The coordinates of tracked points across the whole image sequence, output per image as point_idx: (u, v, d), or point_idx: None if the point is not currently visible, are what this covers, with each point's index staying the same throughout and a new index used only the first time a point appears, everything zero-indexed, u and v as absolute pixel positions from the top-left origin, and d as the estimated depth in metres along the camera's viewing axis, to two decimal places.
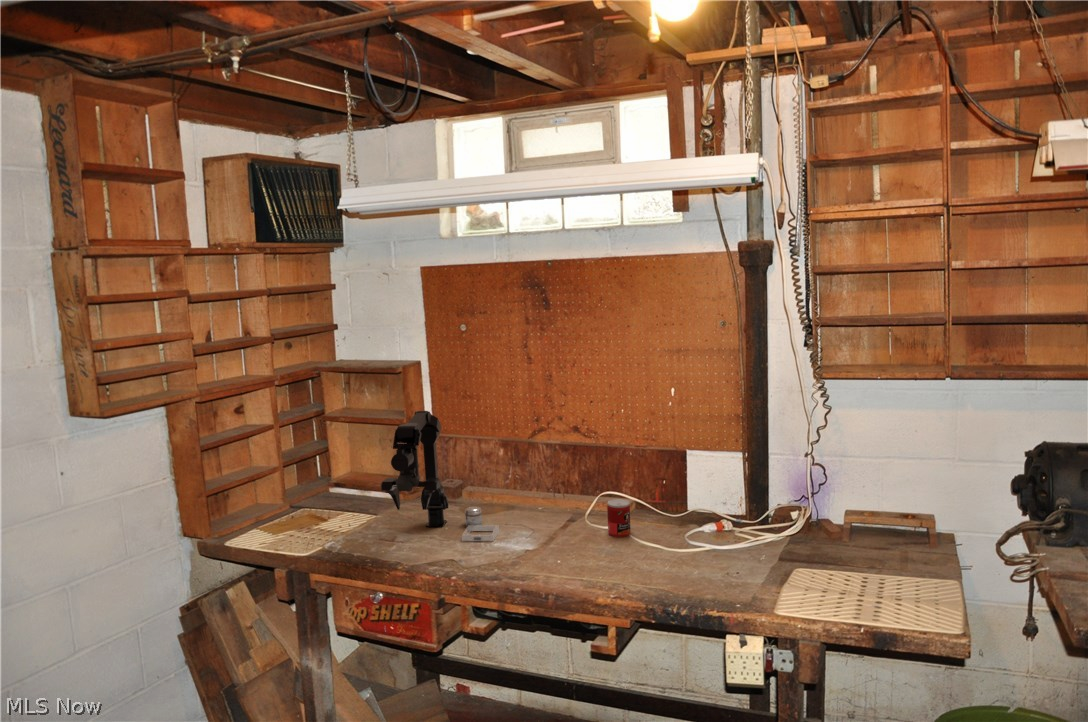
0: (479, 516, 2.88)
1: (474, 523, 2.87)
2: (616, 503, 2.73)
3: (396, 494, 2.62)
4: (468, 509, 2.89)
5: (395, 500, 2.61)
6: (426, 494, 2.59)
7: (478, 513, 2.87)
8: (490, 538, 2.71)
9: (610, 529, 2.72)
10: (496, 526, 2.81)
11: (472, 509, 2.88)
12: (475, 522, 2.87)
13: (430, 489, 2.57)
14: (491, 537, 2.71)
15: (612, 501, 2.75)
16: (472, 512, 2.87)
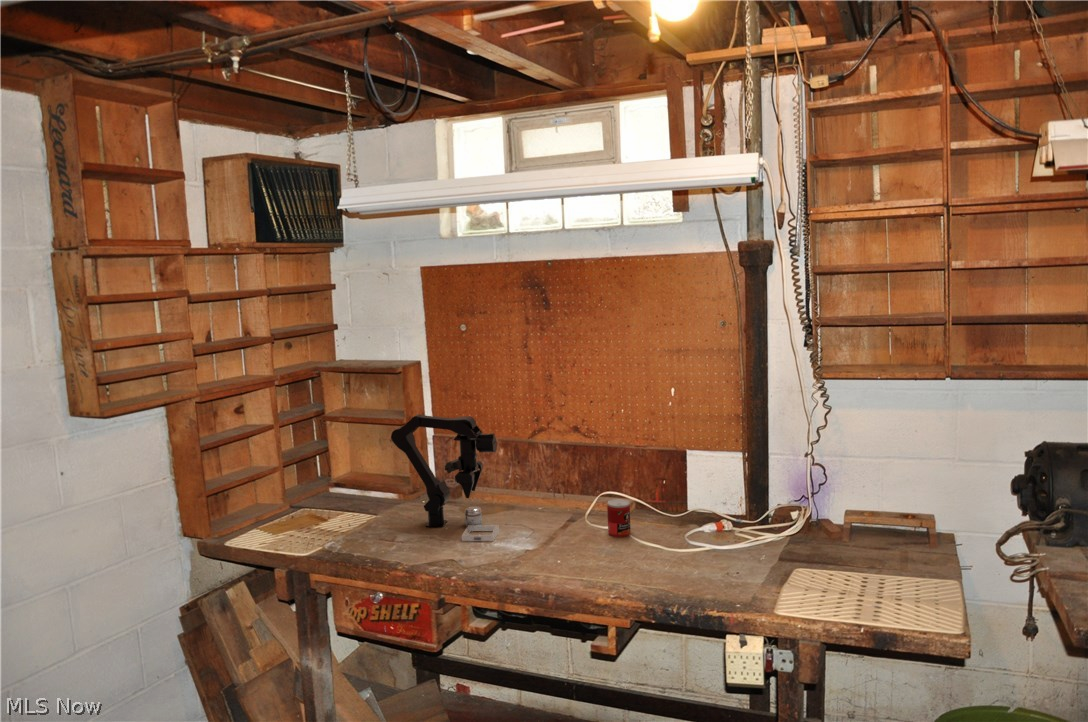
0: (479, 516, 2.88)
1: (474, 523, 2.87)
2: (616, 503, 2.73)
3: None
4: (468, 509, 2.89)
5: None
6: None
7: (478, 513, 2.87)
8: (490, 538, 2.71)
9: (610, 529, 2.72)
10: (496, 526, 2.81)
11: (471, 509, 2.88)
12: (474, 522, 2.87)
13: None
14: (491, 537, 2.71)
15: (612, 501, 2.75)
16: (472, 512, 2.87)
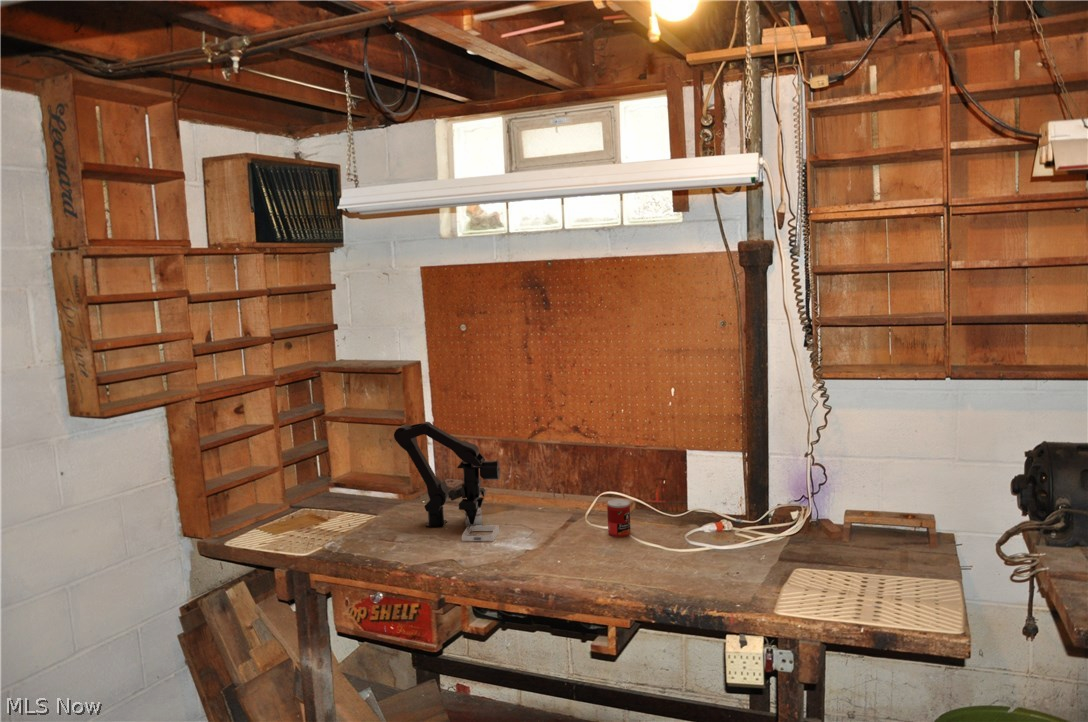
0: (479, 516, 2.88)
1: (474, 522, 2.87)
2: (616, 503, 2.73)
3: None
4: None
5: None
6: None
7: (478, 513, 2.87)
8: (490, 538, 2.71)
9: (610, 529, 2.72)
10: (496, 526, 2.81)
11: None
12: (474, 522, 2.87)
13: None
14: (491, 537, 2.71)
15: (612, 501, 2.75)
16: None
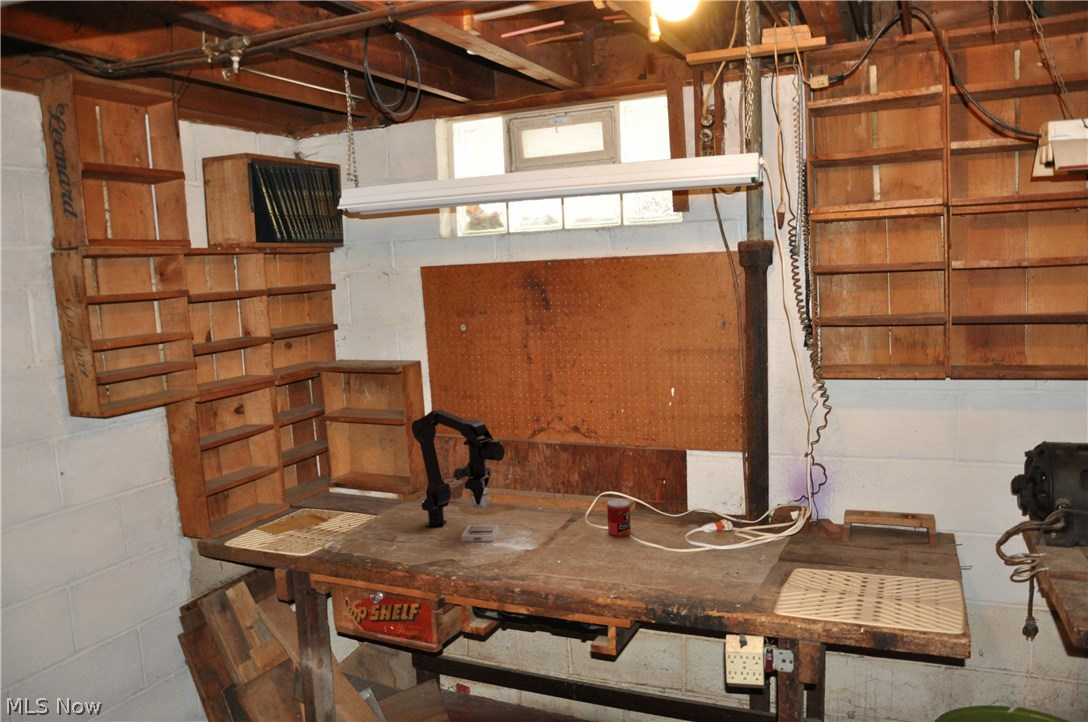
0: (486, 496, 2.75)
1: (481, 503, 2.74)
2: (616, 503, 2.73)
3: None
4: None
5: None
6: None
7: (485, 493, 2.75)
8: (490, 538, 2.71)
9: (610, 529, 2.72)
10: (496, 526, 2.81)
11: None
12: (481, 503, 2.74)
13: None
14: (491, 537, 2.71)
15: (612, 501, 2.75)
16: None
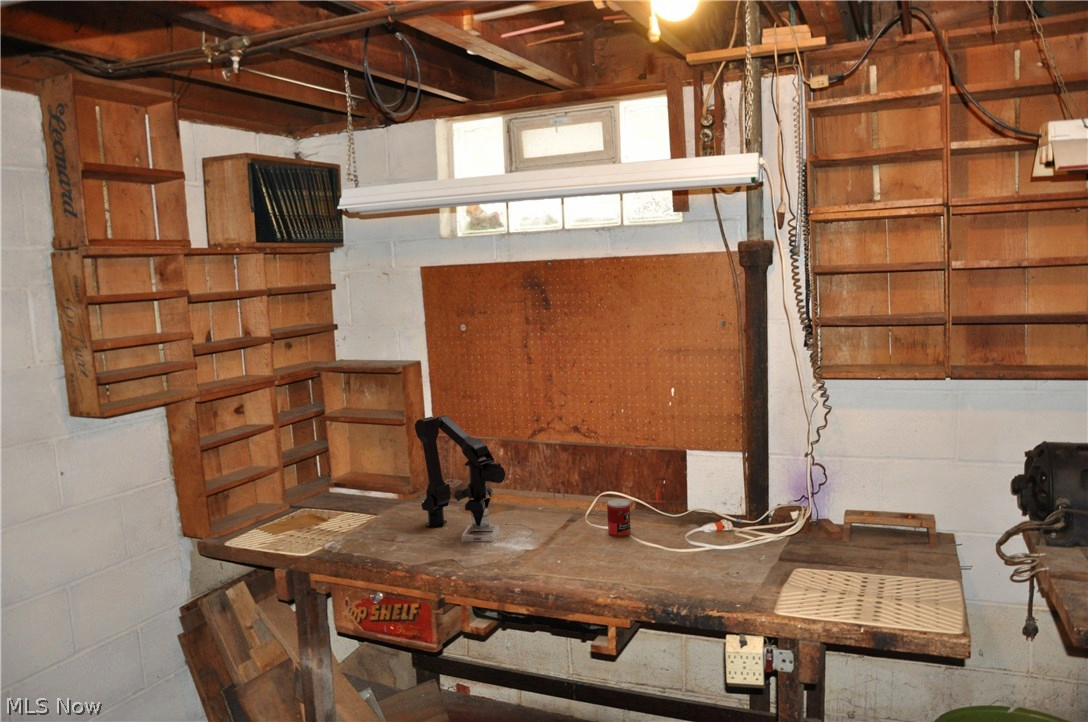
0: (486, 517, 2.75)
1: (481, 524, 2.75)
2: (616, 503, 2.73)
3: None
4: None
5: None
6: None
7: (485, 514, 2.75)
8: (490, 538, 2.71)
9: (610, 529, 2.72)
10: (496, 526, 2.81)
11: None
12: (481, 524, 2.75)
13: None
14: (491, 537, 2.71)
15: (612, 501, 2.75)
16: None
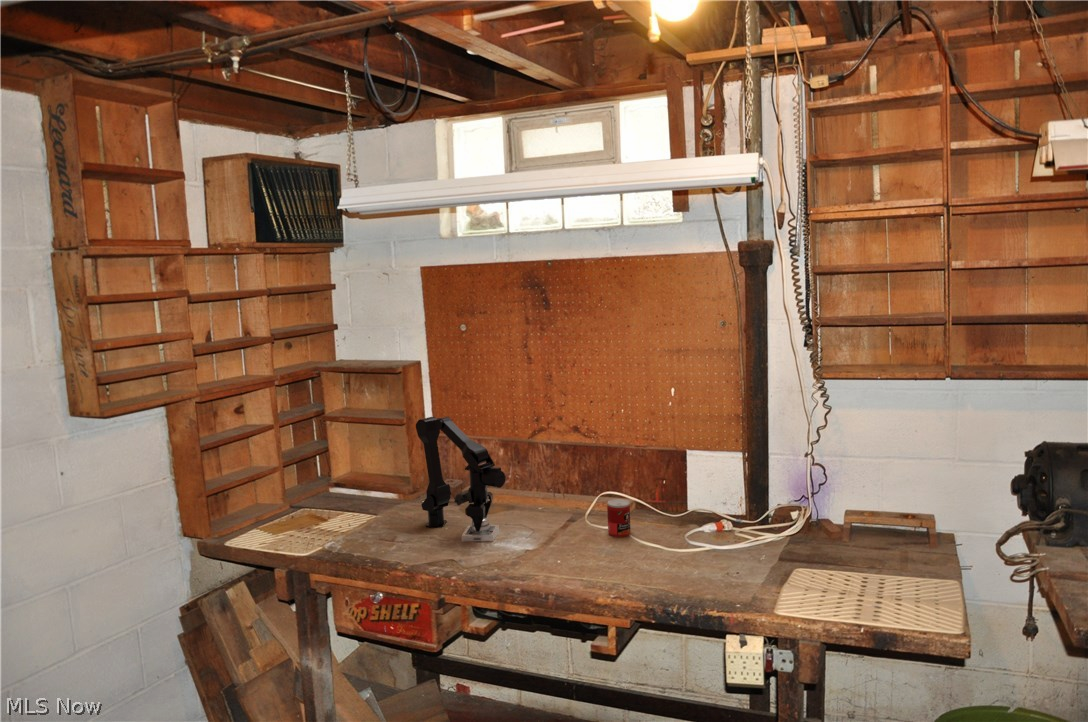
0: (487, 527, 2.76)
1: (481, 533, 2.75)
2: (616, 503, 2.73)
3: None
4: None
5: None
6: None
7: (486, 523, 2.75)
8: (490, 538, 2.71)
9: (610, 529, 2.72)
10: (496, 526, 2.81)
11: None
12: (482, 533, 2.75)
13: None
14: (491, 537, 2.71)
15: (612, 501, 2.75)
16: None
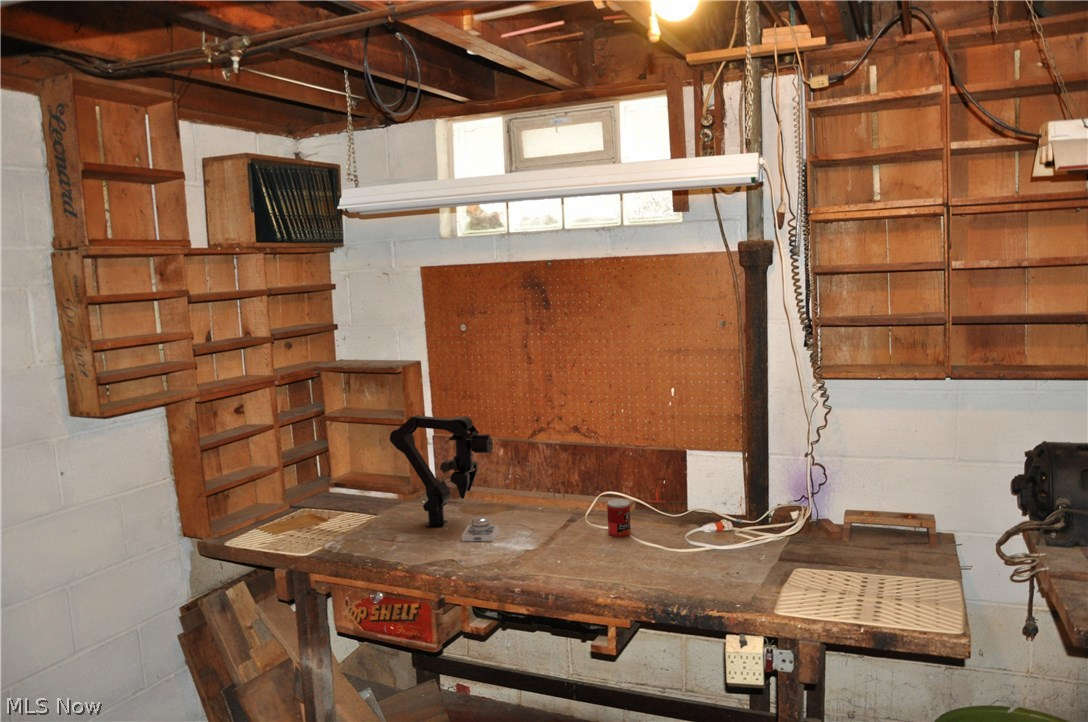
0: (487, 527, 2.76)
1: (481, 533, 2.75)
2: (616, 503, 2.73)
3: None
4: (475, 519, 2.77)
5: None
6: None
7: (486, 523, 2.75)
8: (490, 538, 2.71)
9: (610, 529, 2.72)
10: (496, 526, 2.81)
11: (479, 519, 2.76)
12: (482, 533, 2.75)
13: None
14: (491, 537, 2.71)
15: (612, 501, 2.75)
16: (479, 522, 2.75)
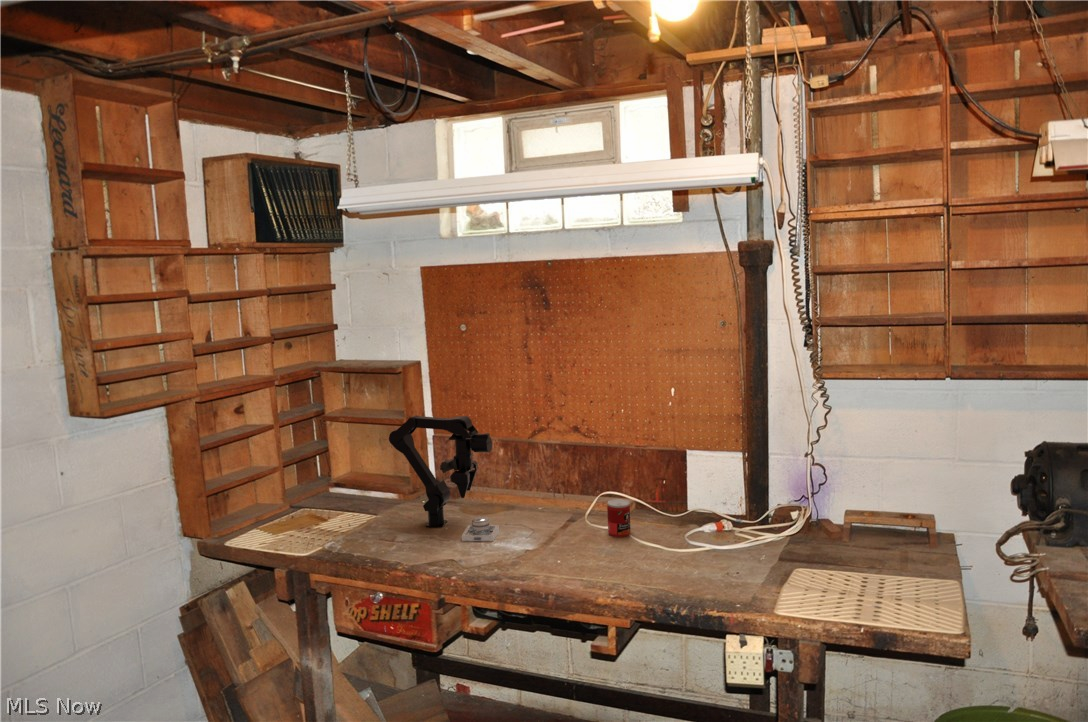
0: (487, 527, 2.76)
1: (481, 533, 2.75)
2: (616, 503, 2.73)
3: None
4: (475, 519, 2.77)
5: None
6: None
7: (485, 523, 2.75)
8: (490, 538, 2.71)
9: (610, 529, 2.72)
10: (496, 526, 2.81)
11: (479, 519, 2.76)
12: (482, 533, 2.75)
13: None
14: (491, 537, 2.71)
15: (612, 501, 2.75)
16: (479, 522, 2.75)
